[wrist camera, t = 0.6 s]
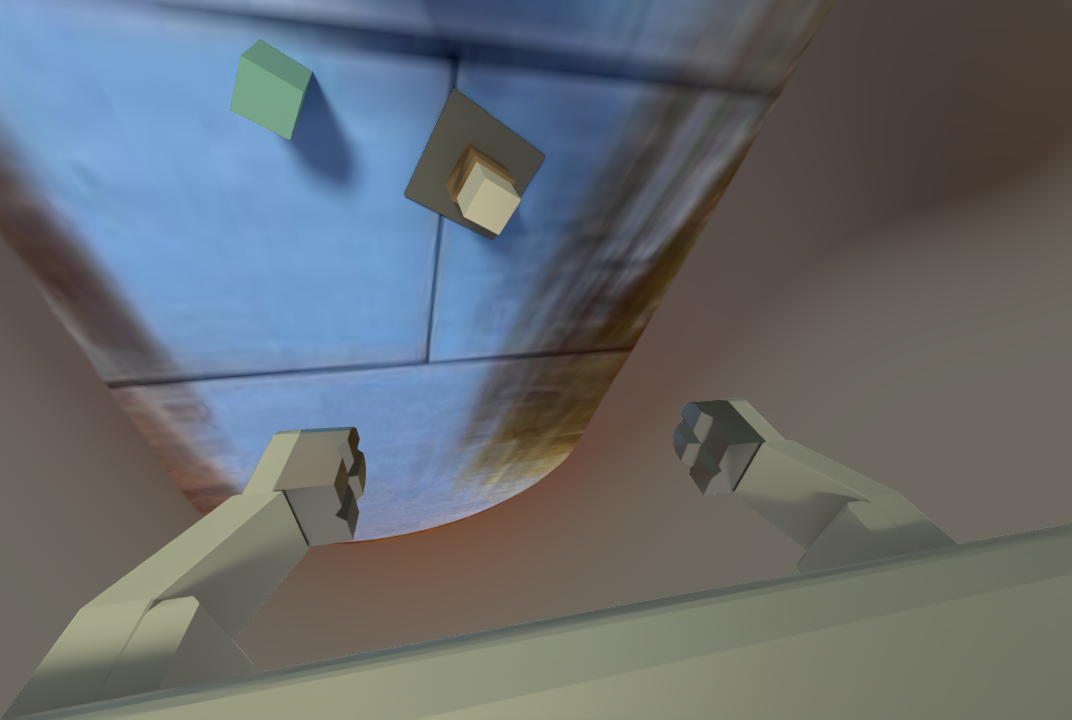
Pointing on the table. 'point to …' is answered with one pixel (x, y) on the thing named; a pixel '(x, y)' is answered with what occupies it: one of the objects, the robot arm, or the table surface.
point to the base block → (466, 165)
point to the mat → (447, 145)
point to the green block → (270, 89)
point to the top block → (487, 199)
